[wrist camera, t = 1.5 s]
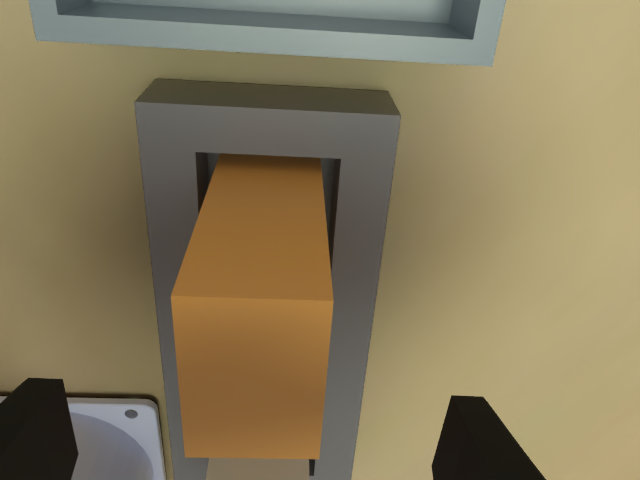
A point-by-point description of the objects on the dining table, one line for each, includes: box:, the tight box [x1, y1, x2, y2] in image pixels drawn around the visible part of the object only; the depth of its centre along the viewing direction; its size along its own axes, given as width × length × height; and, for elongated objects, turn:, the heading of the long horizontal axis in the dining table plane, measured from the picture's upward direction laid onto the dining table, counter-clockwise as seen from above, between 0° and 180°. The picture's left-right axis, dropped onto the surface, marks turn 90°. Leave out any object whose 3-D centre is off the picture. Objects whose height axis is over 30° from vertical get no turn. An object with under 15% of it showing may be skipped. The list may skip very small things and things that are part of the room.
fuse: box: [206, 458, 309, 480], centre depth 19 cm, size 3×4×8 cm
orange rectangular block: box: [171, 153, 334, 459], centre depth 15 cm, size 3×4×8 cm
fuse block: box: [134, 79, 401, 480], centre depth 20 cm, size 7×16×2 cm, turn 176°
